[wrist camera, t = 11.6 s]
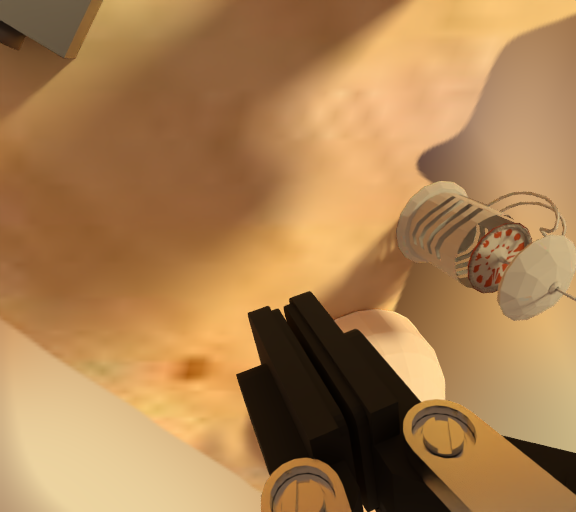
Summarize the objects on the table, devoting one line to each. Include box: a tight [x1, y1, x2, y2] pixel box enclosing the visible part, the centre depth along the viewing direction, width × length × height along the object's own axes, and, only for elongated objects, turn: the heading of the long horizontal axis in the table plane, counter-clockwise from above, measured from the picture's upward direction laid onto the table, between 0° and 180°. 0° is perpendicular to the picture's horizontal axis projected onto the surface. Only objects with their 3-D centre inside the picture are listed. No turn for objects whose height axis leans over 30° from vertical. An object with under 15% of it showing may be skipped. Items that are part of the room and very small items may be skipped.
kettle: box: [334, 309, 445, 402], centre depth 44 cm, size 20×21×18 cm
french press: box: [396, 181, 576, 321], centre depth 35 cm, size 10×12×25 cm
